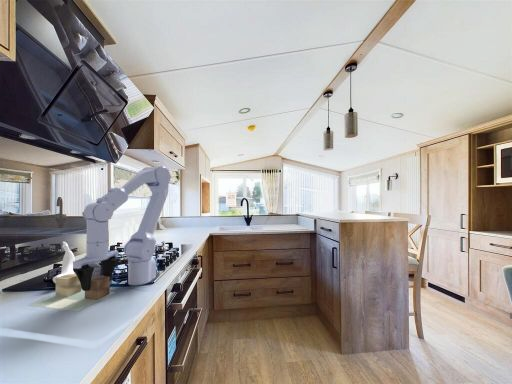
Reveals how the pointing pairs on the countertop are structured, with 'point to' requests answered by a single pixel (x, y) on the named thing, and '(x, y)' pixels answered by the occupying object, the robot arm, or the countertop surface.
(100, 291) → the walnut block
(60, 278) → the oak block
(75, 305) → the board
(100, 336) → the countertop surface
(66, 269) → the white curved piece
